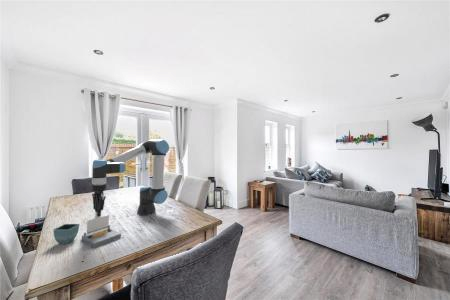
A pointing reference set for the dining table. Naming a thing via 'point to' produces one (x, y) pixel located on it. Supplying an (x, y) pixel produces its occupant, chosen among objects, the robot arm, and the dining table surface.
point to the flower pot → (66, 233)
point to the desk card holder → (101, 237)
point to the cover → (97, 224)
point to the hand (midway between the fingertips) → (97, 220)
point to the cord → (99, 233)
